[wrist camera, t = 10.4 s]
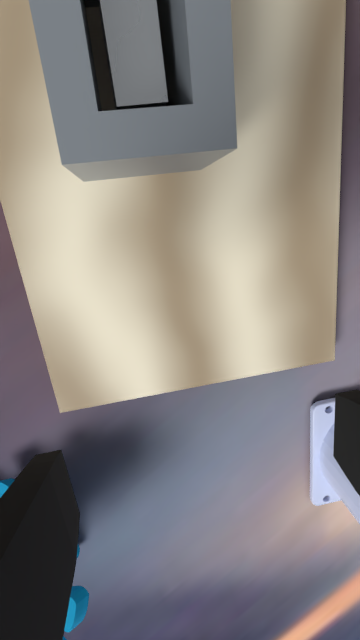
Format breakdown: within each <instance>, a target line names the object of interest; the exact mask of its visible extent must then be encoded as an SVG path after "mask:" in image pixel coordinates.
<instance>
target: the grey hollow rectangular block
mask: <svg viewBox="0 0 360 640" xmlns="http://www.w3.org/2000/svg"><path fill="white" fill-rule="evenodd" d="M156 1H157V9H158V18H159V27H160V35H161V44H162V53H163V61H164V70H165V78H166V87H167V96H168V104H167V106H162V107H149V108H136V109H123V110H110V111H102V109H101V103H100V96H99V90H98V84H97V77H96V71H95V65H94V59H93V52H92V46H91V40H90V34H89V27H88V21H87V15H86V8H85V7H99V1H98V0H29V5H30V10H31V15H32V20H33V25H34V30H35V35H36V40H37V45H38V50H39V55H40V59H41V64H42V69H43V74H44V79H45V84H46V89H47V94H48V99H49V104H50V109H51V114H52V119H53V124H54V129H55V134H56V139H57V144H58V148H59V153H60V158H61V163H62V165H63V166H64V167H65V168H67V169H68V170H69V171H70V172H72V173H73V174H74V175H76V176H77V177H78V178H79V179H81V180H82V181H83V182H87V181H96V180H106V179H116V178H126V177H136V176H146V175H156V174H166V173H176V172H186V171H196V170H202V169H203V168H205V167H207V166H208V165H210V164H212V163H213V162H215V161H217V160H219V159H220V158H222V157H224V156H225V155H227V154H229V153H230V152H232V151H234V150H235V149H237V129H236V108H235V86H234V64H233V42H232V20H231V0H156Z"/></svg>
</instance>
